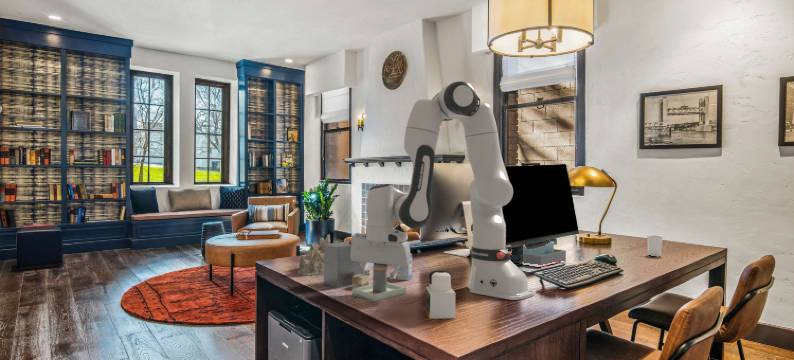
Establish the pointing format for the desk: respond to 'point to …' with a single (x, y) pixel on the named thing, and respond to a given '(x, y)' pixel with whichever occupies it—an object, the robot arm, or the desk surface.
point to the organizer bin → (545, 257)
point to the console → (339, 265)
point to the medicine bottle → (440, 296)
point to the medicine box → (405, 271)
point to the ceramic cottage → (314, 259)
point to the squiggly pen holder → (540, 250)
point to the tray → (368, 293)
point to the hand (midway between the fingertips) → (379, 277)
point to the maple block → (360, 281)
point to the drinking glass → (654, 245)
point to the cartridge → (379, 278)
